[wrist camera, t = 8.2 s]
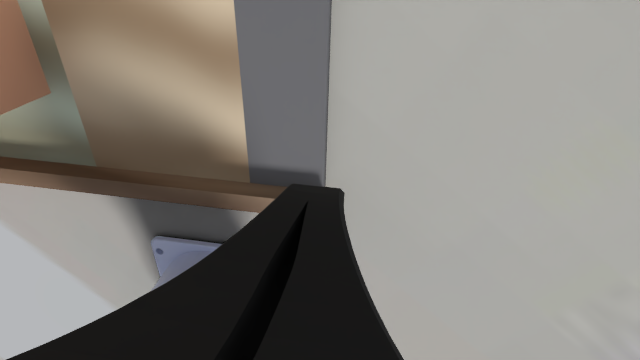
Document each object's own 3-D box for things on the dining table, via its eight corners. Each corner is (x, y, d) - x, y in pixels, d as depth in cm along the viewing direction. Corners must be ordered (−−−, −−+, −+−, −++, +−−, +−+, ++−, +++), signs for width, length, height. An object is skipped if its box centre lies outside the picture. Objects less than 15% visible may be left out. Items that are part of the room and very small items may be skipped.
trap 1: (325, 184, 20) (323, 190, 20) (253, 177, 21) (249, 182, 20) (338, -200, 12) (336, -206, 12) (222, -198, 13) (215, -203, 12)
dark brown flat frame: (324, 199, 21) (319, 219, 19) (-93, 154, 24) (-126, 168, 23) (340, -244, 12) (332, -271, 10) (-327, -220, 15) (-406, -238, 14)
